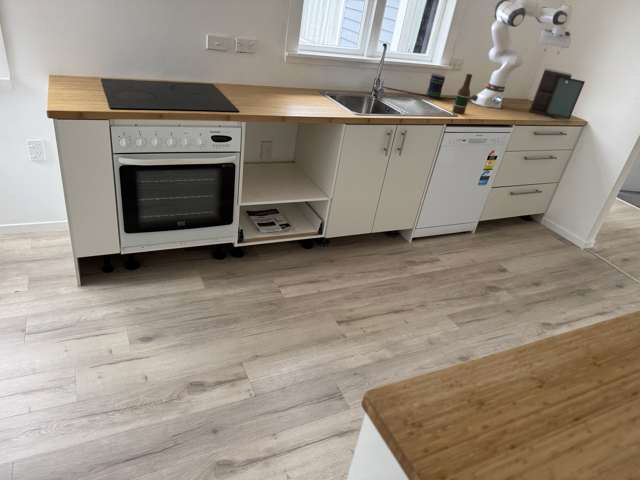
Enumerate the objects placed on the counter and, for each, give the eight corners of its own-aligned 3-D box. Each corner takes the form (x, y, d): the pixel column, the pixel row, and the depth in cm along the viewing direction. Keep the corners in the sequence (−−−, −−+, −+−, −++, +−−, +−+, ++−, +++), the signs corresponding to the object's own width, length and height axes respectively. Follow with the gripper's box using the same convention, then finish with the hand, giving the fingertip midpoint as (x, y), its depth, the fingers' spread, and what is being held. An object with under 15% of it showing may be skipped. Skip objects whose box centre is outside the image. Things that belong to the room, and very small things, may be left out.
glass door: (569, 121, 338) (585, 82, 325) (544, 115, 343) (559, 77, 330) (569, 119, 346) (584, 81, 333) (544, 113, 351) (559, 75, 338)
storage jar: (436, 99, 337) (442, 77, 330) (423, 96, 341) (429, 74, 334) (441, 98, 345) (447, 76, 337) (428, 94, 349) (434, 73, 341)
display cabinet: (554, 118, 348) (571, 75, 334) (529, 111, 353) (544, 69, 339) (554, 115, 360) (571, 73, 345) (530, 109, 365) (545, 67, 350)
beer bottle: (457, 114, 306) (468, 75, 295) (449, 110, 312) (460, 72, 300) (466, 114, 309) (478, 76, 298) (459, 111, 315) (470, 73, 304)
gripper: (543, 28, 335) (535, 49, 341) (574, 34, 329) (566, 55, 335) (543, 28, 340) (536, 48, 347) (573, 34, 334) (565, 55, 341)
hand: (551, 52), depth 341 cm, fingers open, 8 cm apart
